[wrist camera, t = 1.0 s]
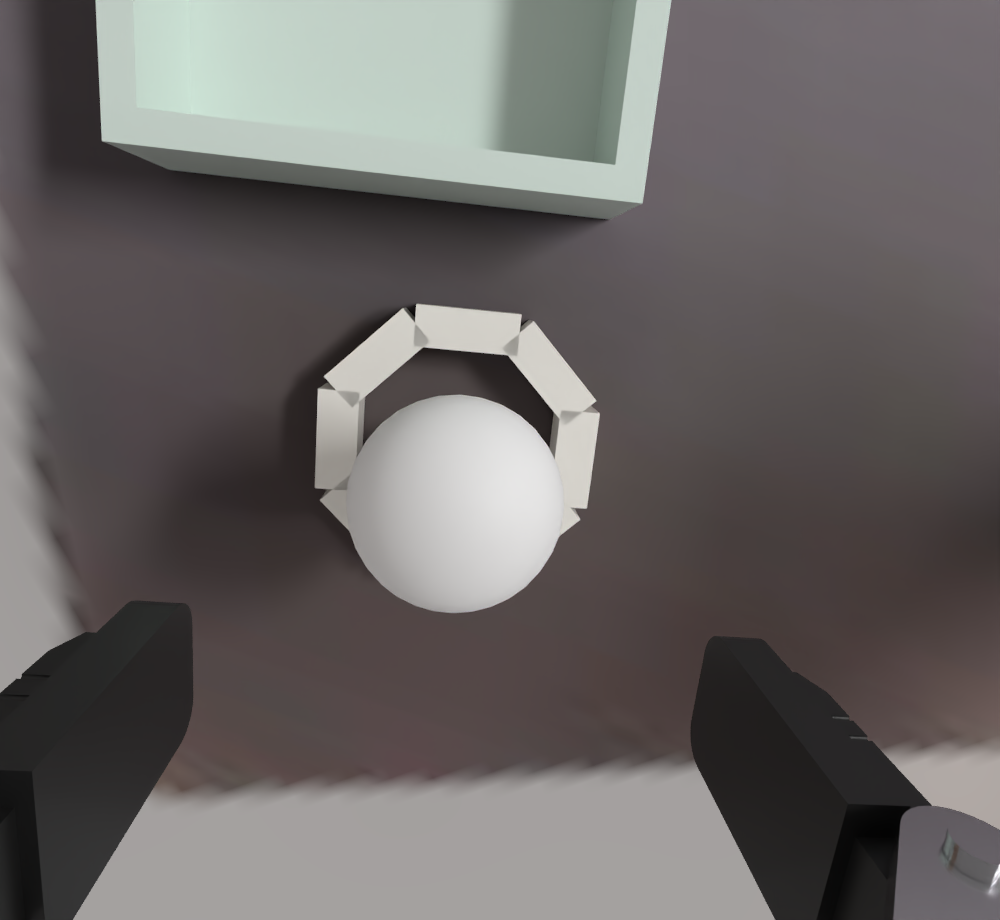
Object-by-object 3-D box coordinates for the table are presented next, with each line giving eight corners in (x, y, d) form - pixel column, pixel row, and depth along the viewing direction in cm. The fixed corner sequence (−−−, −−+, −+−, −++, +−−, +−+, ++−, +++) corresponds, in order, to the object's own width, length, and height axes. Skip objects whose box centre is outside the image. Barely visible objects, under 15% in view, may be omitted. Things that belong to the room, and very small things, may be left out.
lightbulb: (356, 397, 26) (282, 470, 15) (503, 343, 25) (534, 378, 15) (414, 533, 27) (385, 688, 16) (552, 483, 27) (613, 607, 16)
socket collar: (602, 321, 25) (611, 323, 24) (569, 570, 28) (576, 587, 26) (329, 294, 25) (320, 294, 23) (320, 553, 27) (312, 569, 25)
